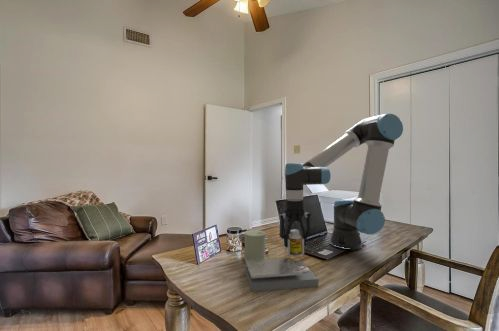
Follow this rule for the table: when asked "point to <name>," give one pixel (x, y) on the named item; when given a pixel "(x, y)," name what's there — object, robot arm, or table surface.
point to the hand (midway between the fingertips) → (295, 253)
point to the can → (254, 245)
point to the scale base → (283, 280)
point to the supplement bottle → (295, 242)
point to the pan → (272, 267)
